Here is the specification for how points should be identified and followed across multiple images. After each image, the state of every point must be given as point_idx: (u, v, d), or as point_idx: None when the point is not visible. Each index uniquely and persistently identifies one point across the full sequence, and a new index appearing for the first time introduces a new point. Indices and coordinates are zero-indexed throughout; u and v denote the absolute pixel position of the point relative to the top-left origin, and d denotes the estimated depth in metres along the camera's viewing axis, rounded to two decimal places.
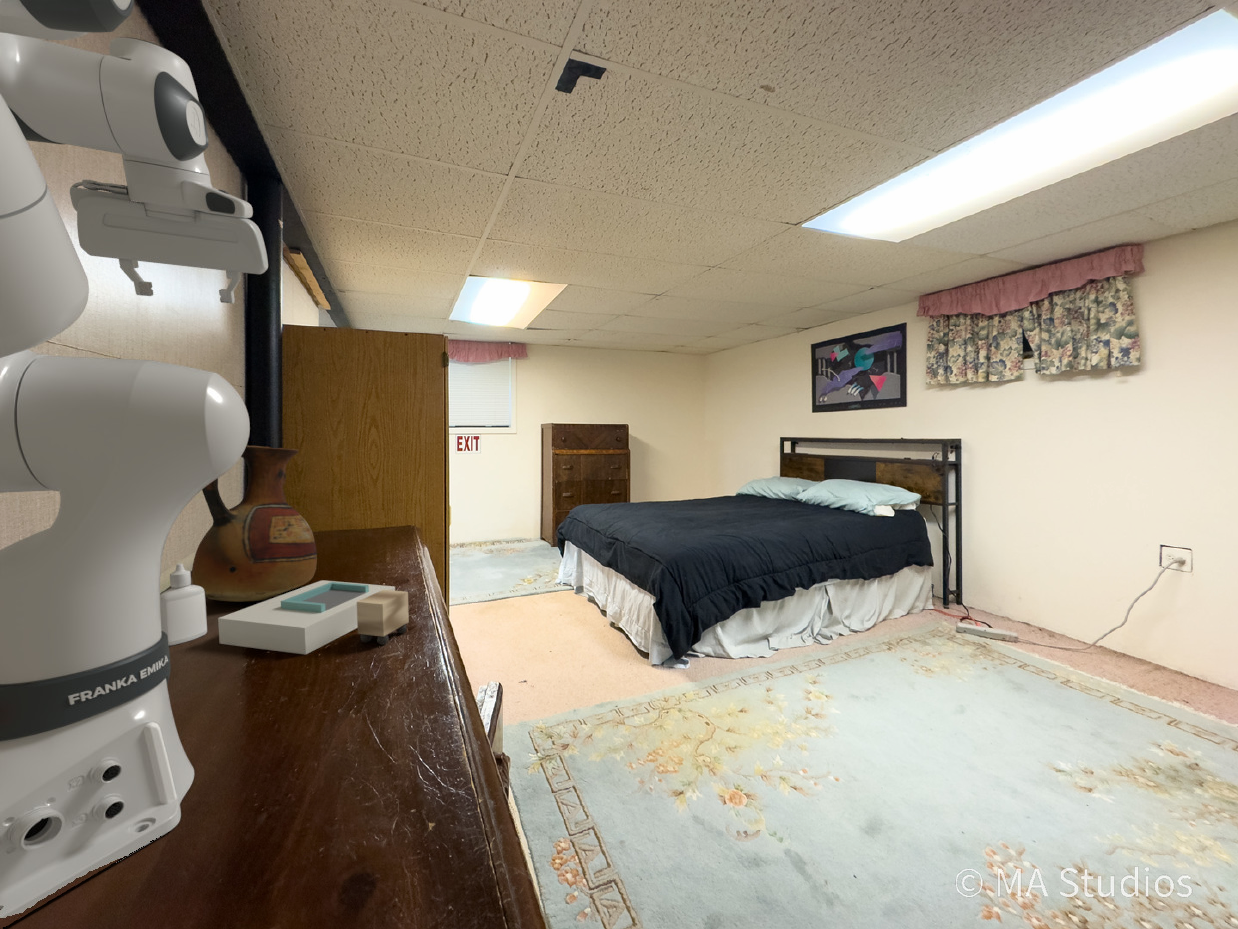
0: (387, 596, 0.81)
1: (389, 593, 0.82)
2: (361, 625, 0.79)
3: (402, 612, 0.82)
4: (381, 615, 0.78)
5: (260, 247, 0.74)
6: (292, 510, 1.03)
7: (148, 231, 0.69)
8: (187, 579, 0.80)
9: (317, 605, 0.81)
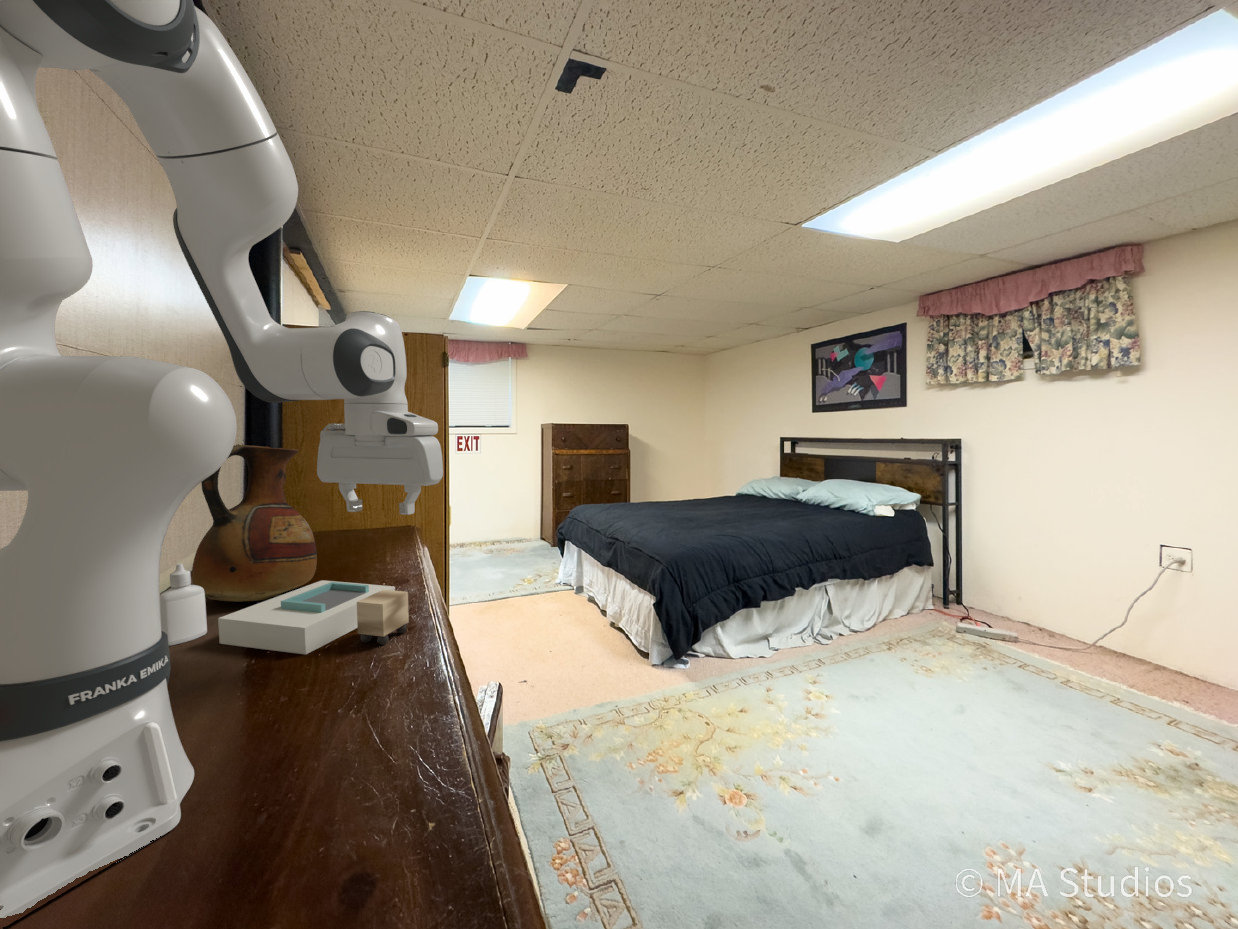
0: (387, 596, 0.81)
1: (389, 593, 0.82)
2: (361, 625, 0.79)
3: (402, 612, 0.82)
4: (381, 615, 0.78)
5: (427, 460, 0.75)
6: (292, 510, 1.03)
7: (355, 457, 0.78)
8: (187, 579, 0.80)
9: (317, 605, 0.81)
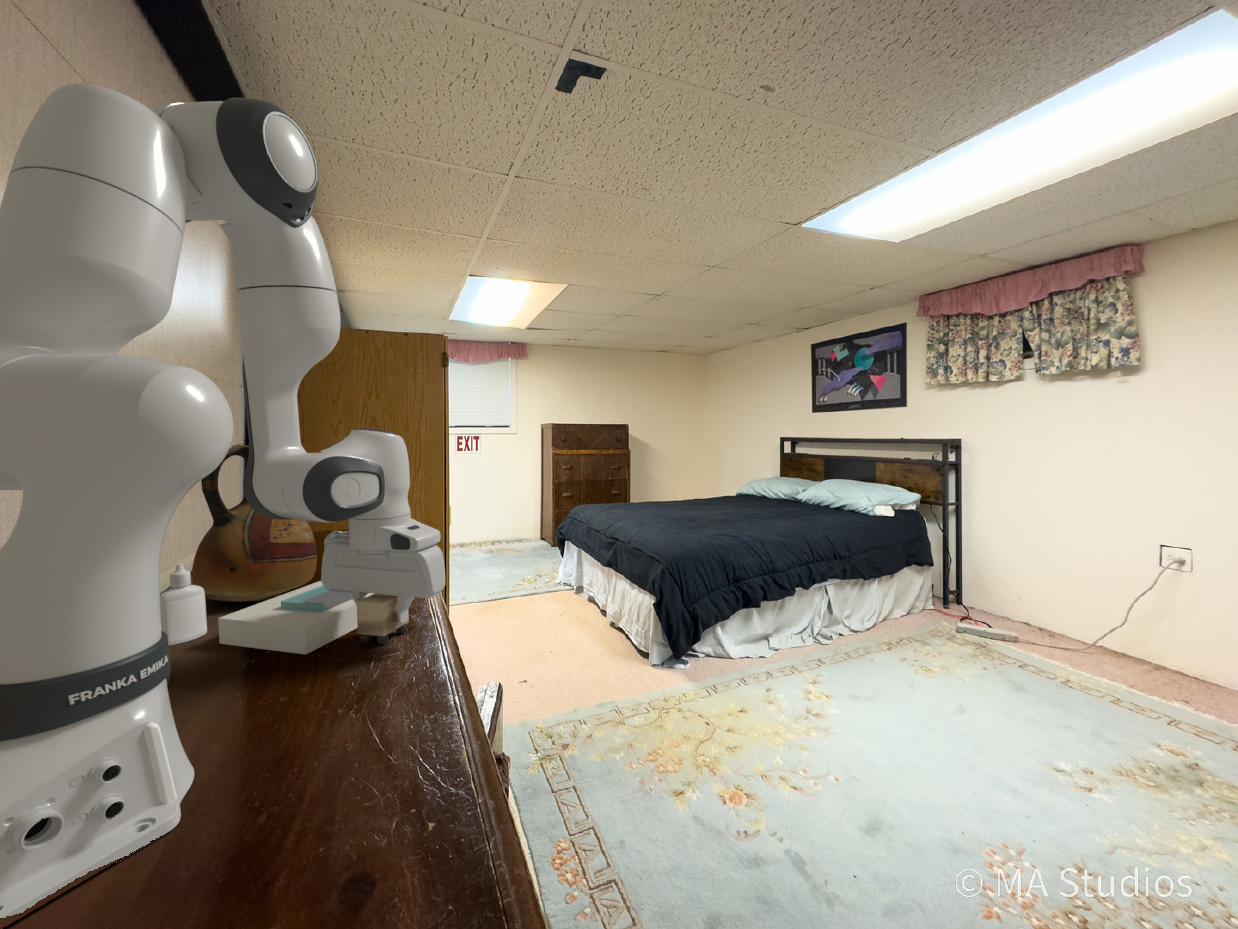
0: (387, 596, 0.81)
1: None
2: (361, 625, 0.79)
3: None
4: (381, 615, 0.78)
5: (429, 575, 0.76)
6: None
7: (359, 567, 0.80)
8: (187, 579, 0.80)
9: (317, 605, 0.81)
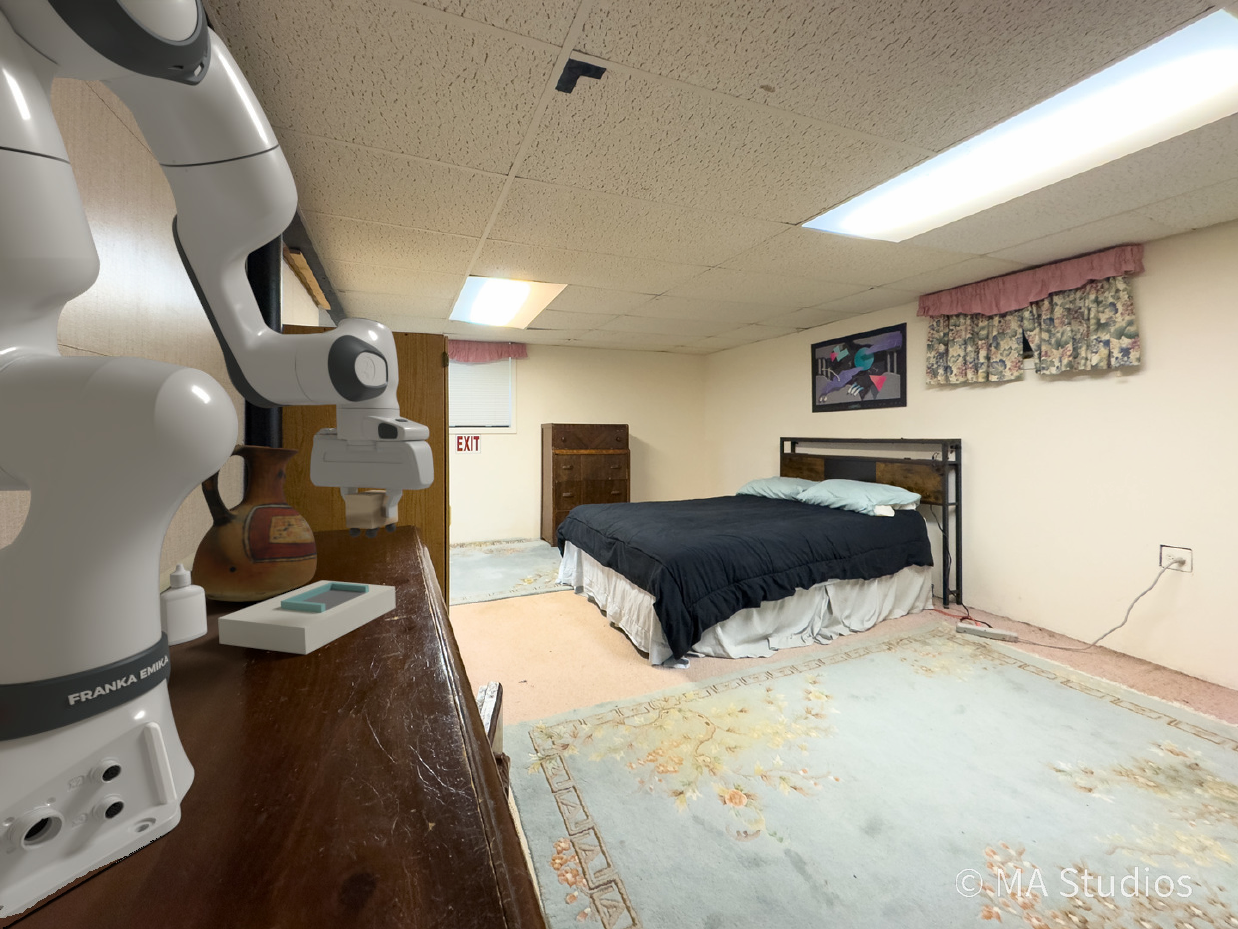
0: (376, 492, 0.81)
1: (378, 491, 0.82)
2: (349, 518, 0.78)
3: None
4: (369, 507, 0.77)
5: (417, 465, 0.76)
6: (292, 510, 1.03)
7: (347, 462, 0.79)
8: (187, 579, 0.80)
9: (317, 605, 0.81)
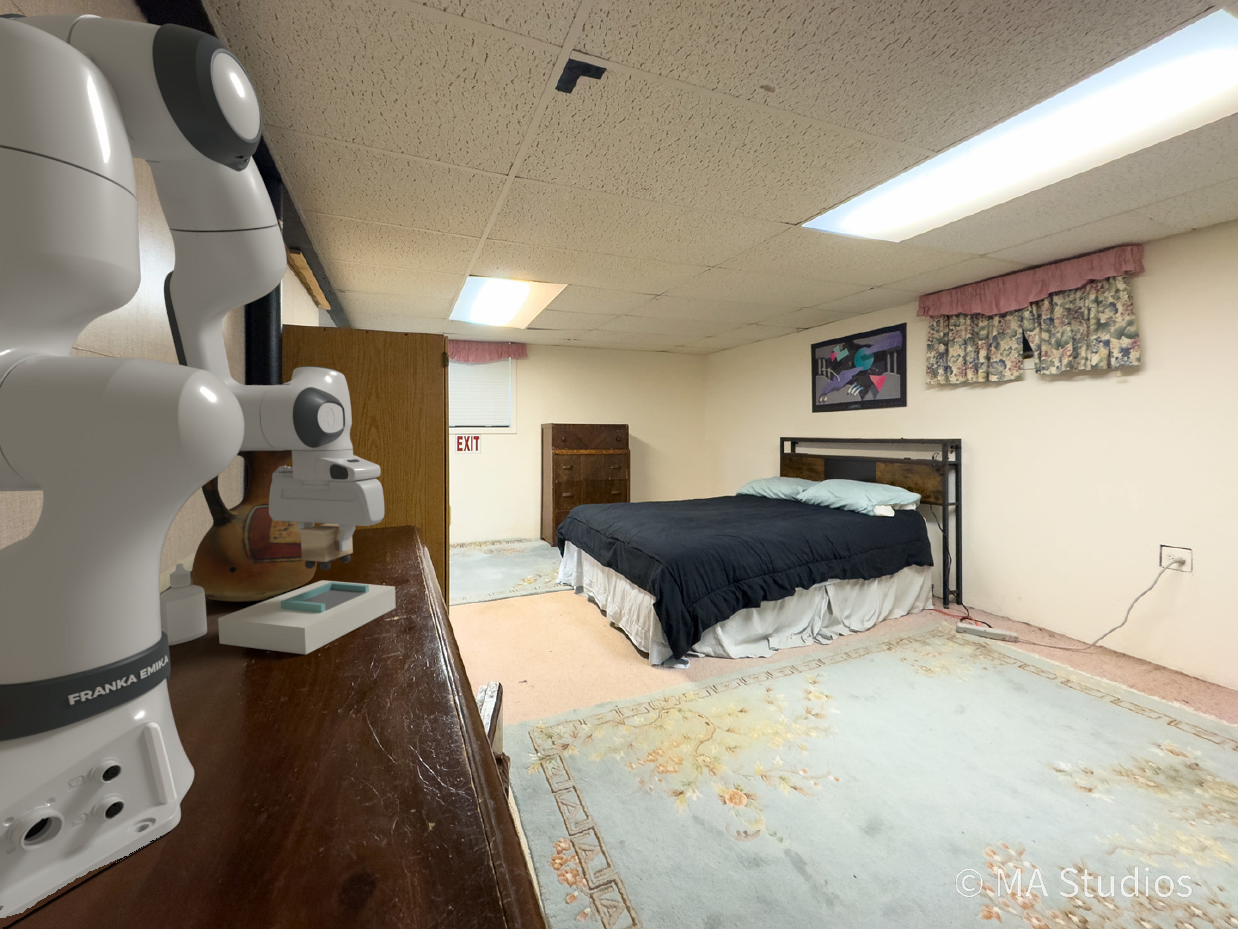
0: (331, 526, 0.87)
1: (333, 525, 0.88)
2: (305, 552, 0.84)
3: None
4: (323, 542, 0.83)
5: (367, 503, 0.82)
6: None
7: (303, 499, 0.85)
8: (187, 579, 0.80)
9: (317, 605, 0.81)
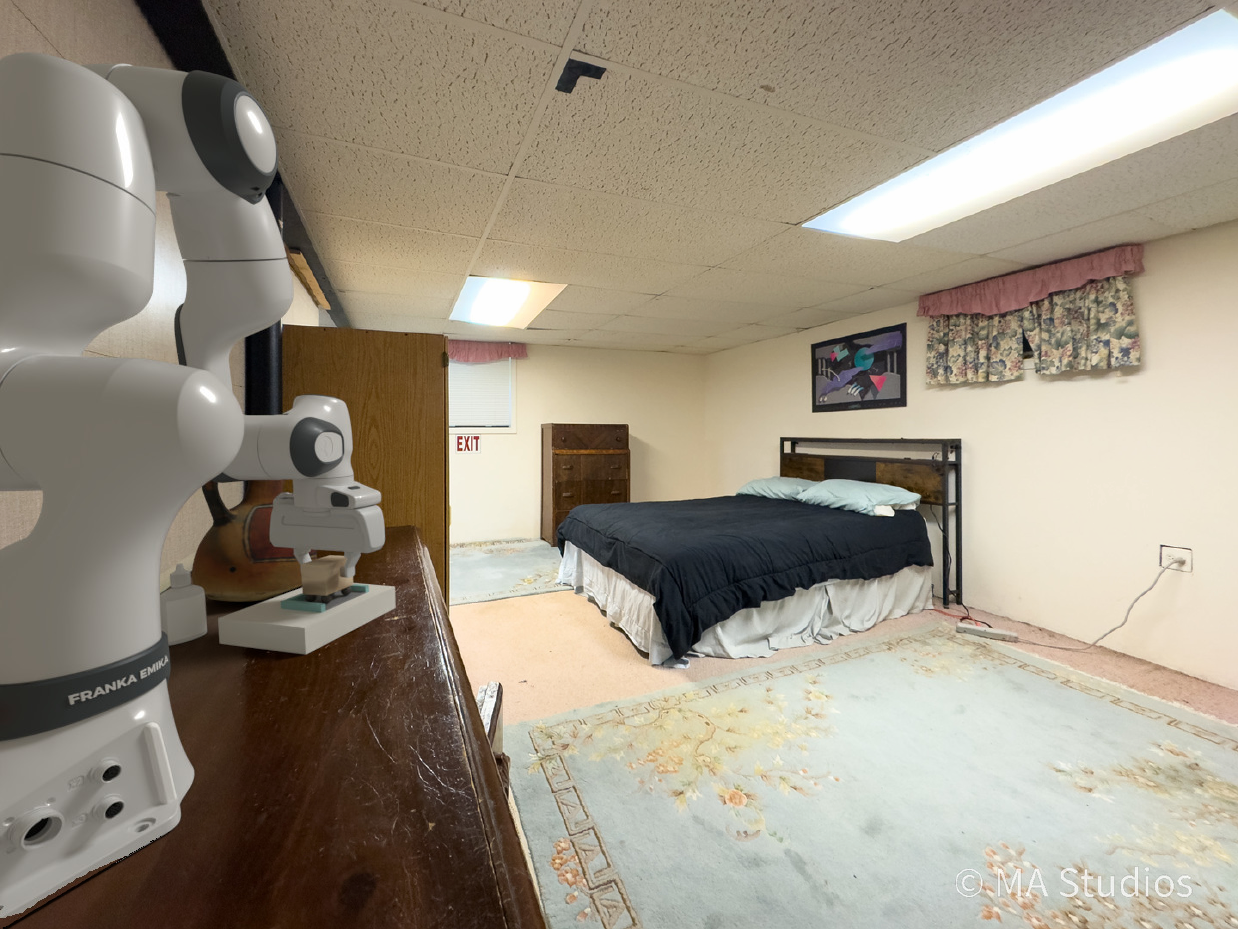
0: (331, 559, 0.87)
1: (334, 558, 0.88)
2: (305, 586, 0.84)
3: None
4: (323, 576, 0.83)
5: (367, 530, 0.82)
6: None
7: (304, 525, 0.85)
8: (187, 579, 0.80)
9: (317, 605, 0.81)
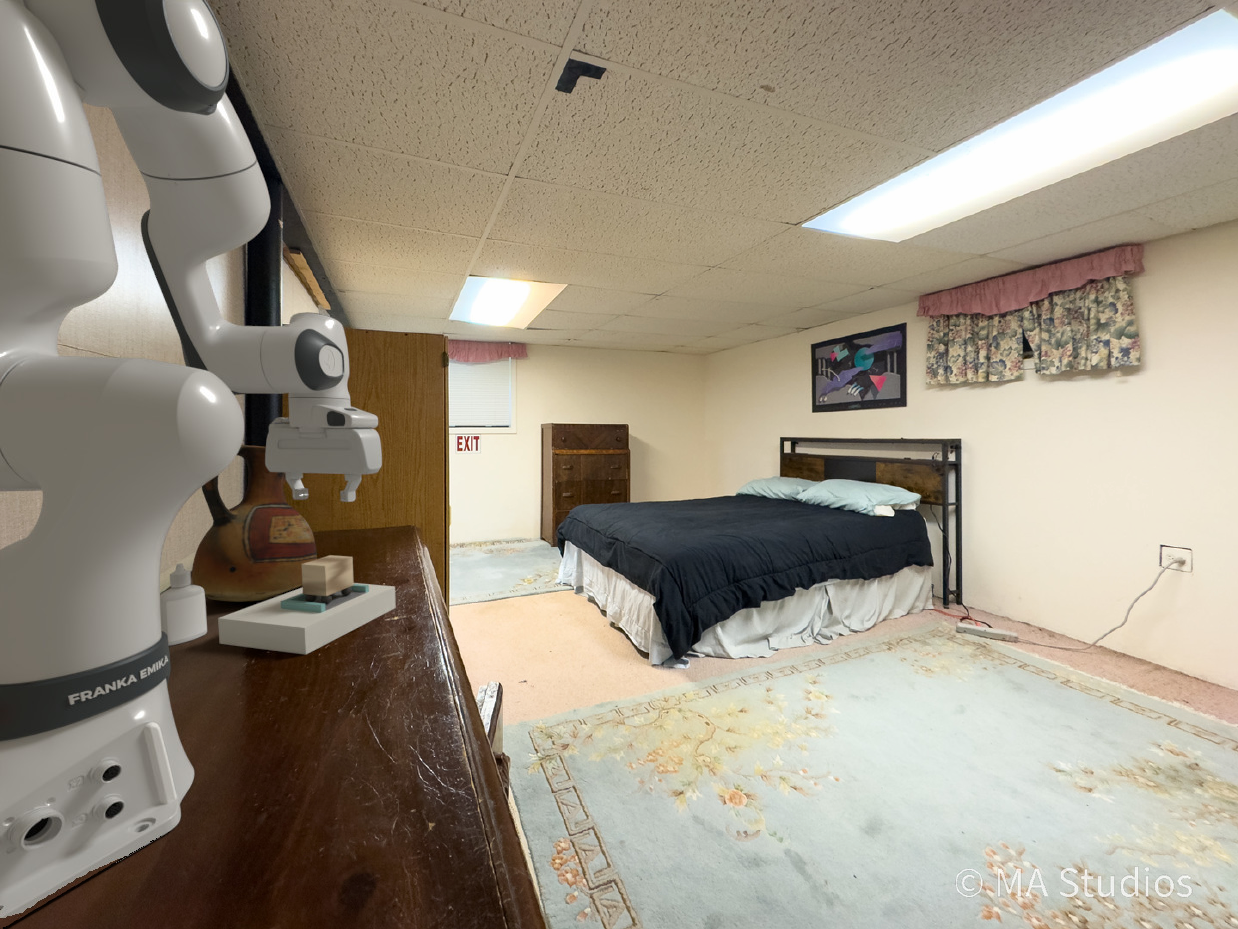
0: (332, 560, 0.87)
1: (334, 558, 0.88)
2: (306, 586, 0.84)
3: (346, 575, 0.88)
4: (323, 576, 0.83)
5: (364, 451, 0.81)
6: (292, 510, 1.03)
7: (300, 449, 0.84)
8: (187, 579, 0.80)
9: (317, 605, 0.81)
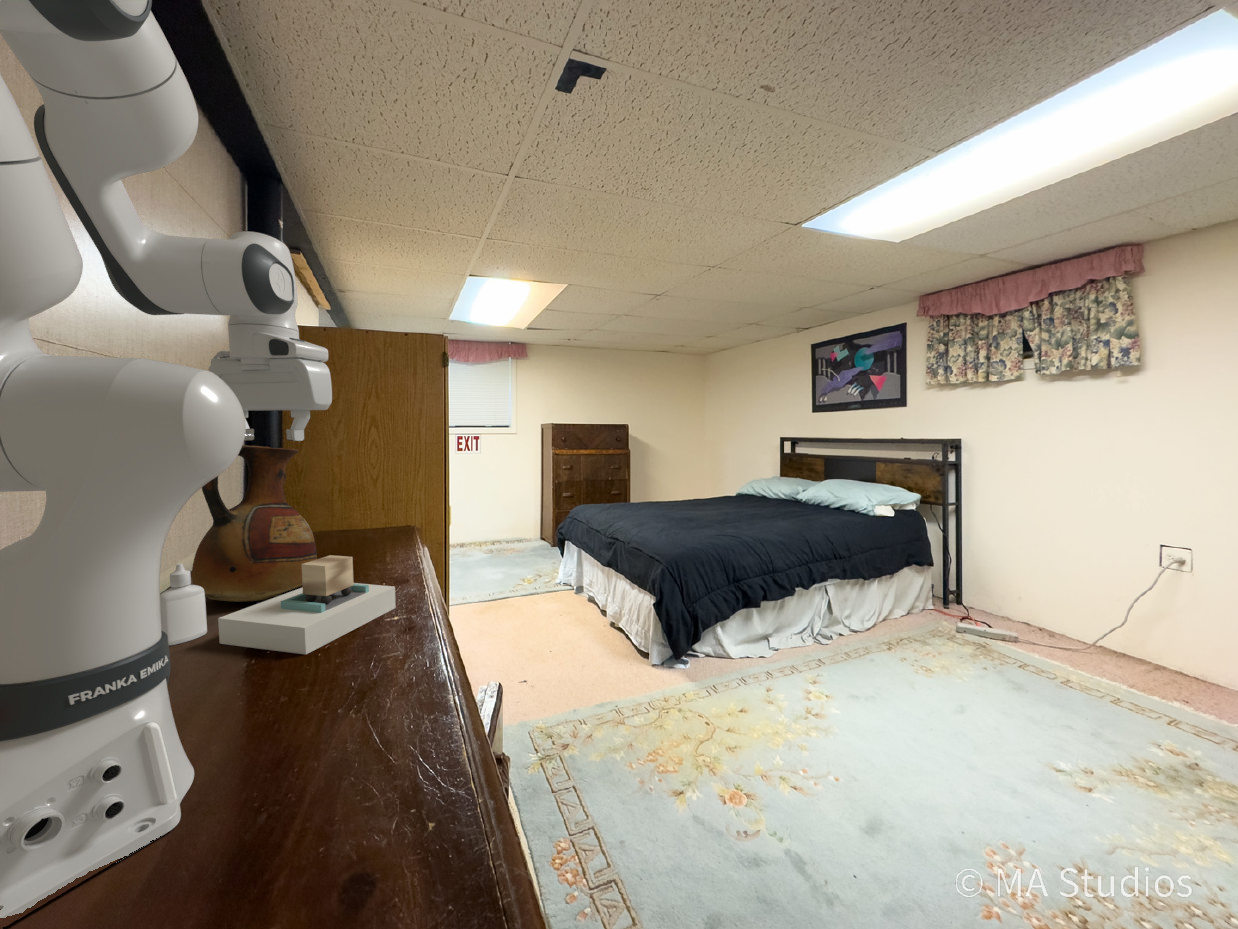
0: (332, 560, 0.87)
1: (334, 558, 0.88)
2: (306, 586, 0.84)
3: (346, 575, 0.88)
4: (323, 576, 0.83)
5: (310, 383, 0.74)
6: (292, 510, 1.03)
7: (242, 383, 0.77)
8: (187, 579, 0.80)
9: (317, 605, 0.81)
